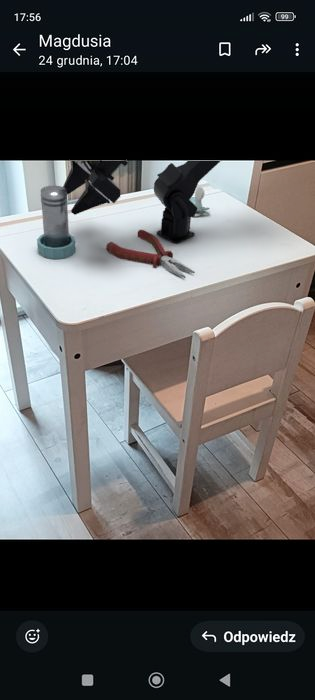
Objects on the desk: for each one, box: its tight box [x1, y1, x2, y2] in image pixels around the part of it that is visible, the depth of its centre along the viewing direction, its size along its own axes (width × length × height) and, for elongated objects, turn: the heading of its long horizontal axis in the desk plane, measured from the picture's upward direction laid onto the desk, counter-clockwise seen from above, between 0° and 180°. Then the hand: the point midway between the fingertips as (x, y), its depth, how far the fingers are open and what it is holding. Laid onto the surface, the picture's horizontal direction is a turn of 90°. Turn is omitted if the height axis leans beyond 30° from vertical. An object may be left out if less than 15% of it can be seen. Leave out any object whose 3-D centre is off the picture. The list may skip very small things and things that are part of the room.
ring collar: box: [36, 233, 76, 260], centre depth 122 cm, size 8×8×2 cm
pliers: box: [106, 229, 196, 279], centre depth 121 cm, size 12×20×3 cm, turn 46°
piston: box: [40, 185, 70, 248], centre depth 118 cm, size 5×5×13 cm
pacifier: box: [189, 186, 210, 218], centre depth 140 cm, size 7×6×6 cm
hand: (67, 203), depth 117 cm, fingers open, 9 cm apart
